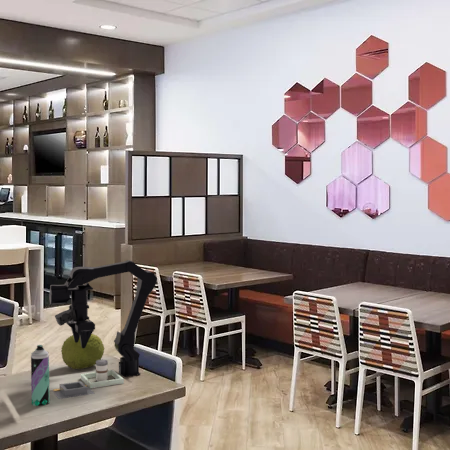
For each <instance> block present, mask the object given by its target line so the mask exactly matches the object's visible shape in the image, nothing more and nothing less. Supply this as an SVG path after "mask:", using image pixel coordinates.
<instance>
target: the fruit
mask: <svg viewBox="0 0 450 450" xmlns="http://www.w3.org/2000/svg"><path fill="white" fill-rule="evenodd" d="M60 352H61V358H62V361H63V363H64V364H65V365H66V366H67V367H68V368H71V369H72V370H83V369H86V368H91V367H93V366H96V361H97V360H101V359H102V358H103V356H104V352H105V345H104V344H103V341H102V338H100V337H99V336H98V335H97V334H94V333H92V334H91V336H90V338H89V340H88V343H87V345H86V347H85V348H82V346H81V341H80V338H79V341H78V342H77V343H75V340H74V337H73V334H72V335H70V336H68V337H67V338H66V339H65V340H64V341H63V343H62V346H61V351H60Z"/></svg>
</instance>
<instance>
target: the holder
mask: <svg viewBox="0 0 450 450" xmlns="http://www.w3.org/2000/svg"><path fill="white" fill-rule="evenodd" d="M51 391H52V392H53V394H54V395H55V396H56V397H57V399H58V400H62V399H67V398H76V397H81V396H89V395H95V394H96V393H95V392H94V390H92V388H89V387H88V386H87V385H86V384H85V383H84V382H83V381H82V380H81V381H80V380H79V381H74V382H67V383H66V382H65V383H59V388H55V389H52V390H51Z"/></svg>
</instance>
